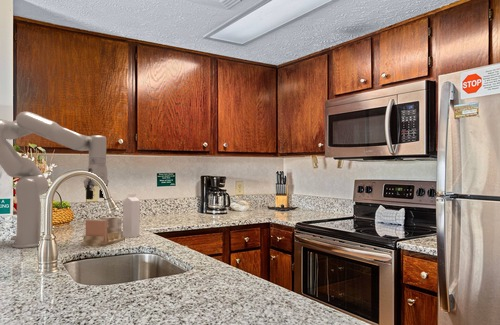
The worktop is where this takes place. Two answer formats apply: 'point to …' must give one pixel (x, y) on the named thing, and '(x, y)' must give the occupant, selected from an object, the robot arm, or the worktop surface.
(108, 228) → the rack
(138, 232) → the milk
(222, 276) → the worktop surface
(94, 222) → the pink square slab
